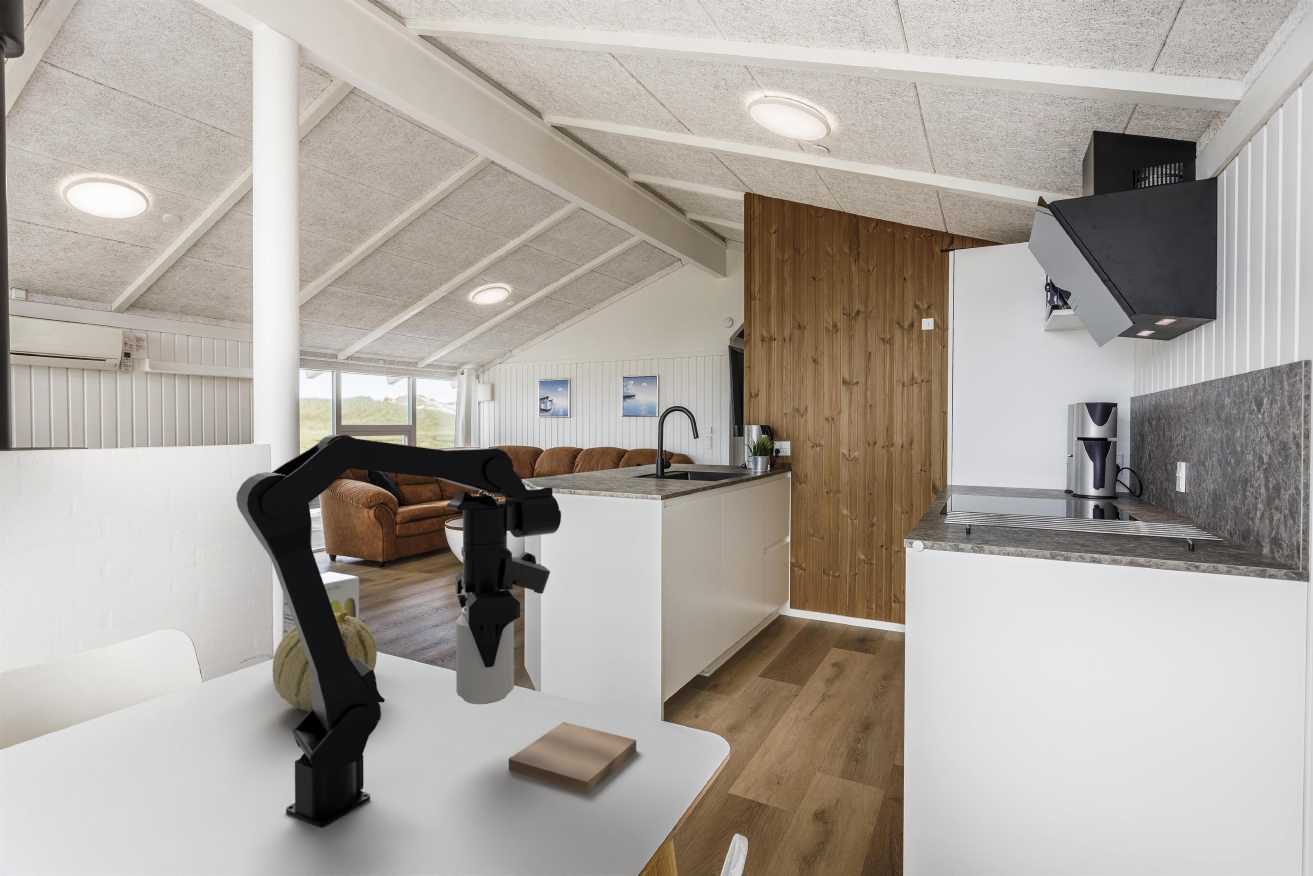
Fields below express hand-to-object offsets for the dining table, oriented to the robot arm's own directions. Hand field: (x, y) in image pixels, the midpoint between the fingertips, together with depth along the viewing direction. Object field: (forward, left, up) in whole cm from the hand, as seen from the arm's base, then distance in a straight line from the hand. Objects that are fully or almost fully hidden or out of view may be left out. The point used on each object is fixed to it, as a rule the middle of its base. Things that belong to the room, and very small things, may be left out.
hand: (485, 657), depth 89 cm
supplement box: (+10, +47, -13) cm, 50 cm away
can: (0, 0, -5) cm, 5 cm away
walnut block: (+4, -12, -14) cm, 18 cm away
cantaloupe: (0, +32, -13) cm, 35 cm away
